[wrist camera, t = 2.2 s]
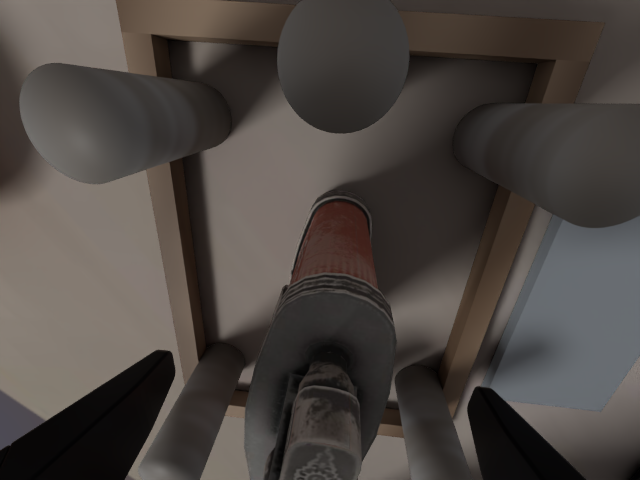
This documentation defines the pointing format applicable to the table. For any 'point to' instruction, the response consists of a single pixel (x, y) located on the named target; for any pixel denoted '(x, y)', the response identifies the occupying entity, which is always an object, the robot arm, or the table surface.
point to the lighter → (323, 354)
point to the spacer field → (338, 117)
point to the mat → (573, 319)
